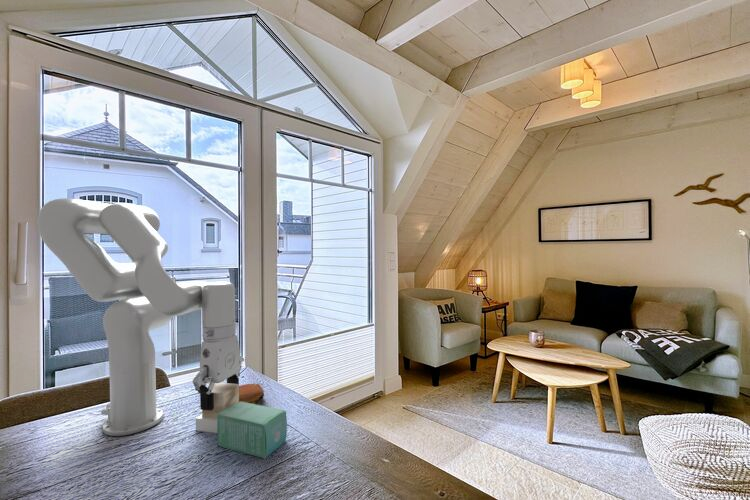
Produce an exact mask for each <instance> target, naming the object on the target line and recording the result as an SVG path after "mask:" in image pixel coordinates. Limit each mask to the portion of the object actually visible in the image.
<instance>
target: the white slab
mask: <svg viewBox="0 0 750 500" xmlns="http://www.w3.org/2000/svg"><path fill="white" fill-rule="evenodd" d="M217 423H218V418H211V417H202V413H201V414H199V416H196V417H195V431H196V432H205V433H211V434H217Z"/></svg>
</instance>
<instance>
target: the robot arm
mask: <svg viewBox="0 0 750 500" xmlns="http://www.w3.org/2000/svg"><path fill="white" fill-rule="evenodd" d="M40 208H41V209H40V210H39V213H38V217H37V230H38V232H39V236H40V238H41V240H42V242H43V243H44V244H45V246H46V247H47V248H48V250H50V251H51V252H52V253H53V254H54V255H55V256H56V257H57V258H58V260H60V262H61V263H62V264H63V265H64V266H65V267H66V269H67V270H68V272H69V273H70V274H71V275H72V277H73V278H74V279H75V280H76V281H77V283H78V284H79V286H81V288H82V290H84V292H85V293H86V294H87V295H88V296H89V298H91V299H92V300H93V301H95V302H98V303H107V302H108V303H109V302H114V301H115V302H114V303H112V304H111V305H110V306H108V307H107V309H106V310H105V312H104V315H103V318H102V326H103V331H104V333H105V336H106V342H107V347H108V364H109V365H108V367H109V402H108V404H107V405H106V407H105V408H103V409H101V415H105V416H107V421H106V422H104V424H103V426H102V433H103V434H105V435H107V436H111V437H119V436H121V437H122V436H126V435H127V436H128V435H132V434H137V433H140V432H143V431H145V430H147V429H150V428H152V427H154V426H156V425H158V424H159V423H160V422H161V421H162V420H163V418H164V415H165V414H164V413H165V412H164V410H163V409H161V408H159V407H157V382H156V381H157V380H156V379H157V377H156V373H157V372H156V371H157V370H156V349H155V344H154V342H153V340H152V338H151V336H150V331H153V330H156V329H158V328H162V327H163V326H166V325H167V324H168V323H169V322H170V321H171V320H172V319H173V318H174V317H179V316H183V315H187V314H189V313H192V312H195V311H199V310H201V319H202V320H201V324H202V325H201V326H202V328H201V329H202V342H201V345H200V346H201V347H200V354H199V355H200V356H199V372H198V373H197V374H196V375H195V377H193V379H192V384H193V386H194V387H195V388H194V389H195V390H196V391H197V394H199V397H200V398H199V400H200V407H199V408H200V410H201V411H202V410H209V411H212V410H213V409H214V394H213V393H211V392H212V389H213V387H214V385H215V384H216V383H223V382H224V381H226V383H232V384H239V385H240V380H239V379H240V378H239V377H240V375H241V373H240V372H241V370H242V367H243V366H242V364H243V360H244V357H243V356H242V355H241V351H240V350H241V349H240V343H239V342H240V341H239V337H238V334H237V331H236V330H237V329H236V328H237V327H236V294H235V293H236V288H235V287H236V286H235V285H234V283H232V282H229V281H215V282H213V281H212V282H207V281H201V280H200V281H199V280H191V281H184V282H178V283H176V281H175V280H174V279H173V278H172V277H171V276H170V275H169V273H168V272H167V271H166V269H165V268H164V266H163V264H162V259H163V258H164V257H165V255H166V254H167V253H168V252H169V251H168V250H169V245H168V243H167V242H166V241H165V240H164V239H163V238H162V237H161V236H160V234H159V233H158V231H159V229H160V225H161V222H160V218H159V216H158V214H157V213H156V212H155V211H154V210H153V209H151V208H149V207H147V206H144V205H136V204H131V203H124V202H116V203H112V204H111V203H105V202H99V201H91V200H84V199H80V198H79V199H77V198H68V197H67V198H56V199H52V200H49V201H48V202H45V204H44V205H43V206H42V207H40ZM87 234H90V235H91V234H94V235H108V236H109V237H110V238H111V239H112V240H113V241H114V243H115V244H117V246H118V247H119V248H120V249H121V250H122V252H123V253H124V254H125V255H126V256H127V257H128V258H129V259H130V260H131V262H128V263H127V262H126V263H125V262H123V263H119V262H116V261H114V260H113V259H112V258H111V257H110V256H109V255H108V254H107V252H106V250H105V249H104V248H103V247H102V246H101V245H100V244H99V243H98V242H96V241H95V240H93V239H92V238H90V237H89V236H87ZM207 384H208V387H207Z"/></svg>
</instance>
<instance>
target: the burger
mask: <svg viewBox="0 0 750 500" xmlns="http://www.w3.org/2000/svg"><path fill="white" fill-rule="evenodd" d="M264 397H265V391H264V389H263V387H262V386H261V384H259V383H247V384H241V385H239V402H240V401H242V402H247V403H251V404H256V405H260V403H261V402H262V401H263V399H264Z"/></svg>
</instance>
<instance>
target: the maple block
mask: <svg viewBox="0 0 750 500" xmlns="http://www.w3.org/2000/svg"><path fill="white" fill-rule="evenodd" d="M239 386H240V383H239V384H232V383H227V382H220V383H215V385H214V387H213V389H212V392H211V393H213V394H214V409H213V410H212V411H209V410H201V414H202V417H211V418H218V413H219V412H221V411H223V410H225V409H227V408H229V407H231V406H233V405H235V404H237V403H238V402H239Z"/></svg>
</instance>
